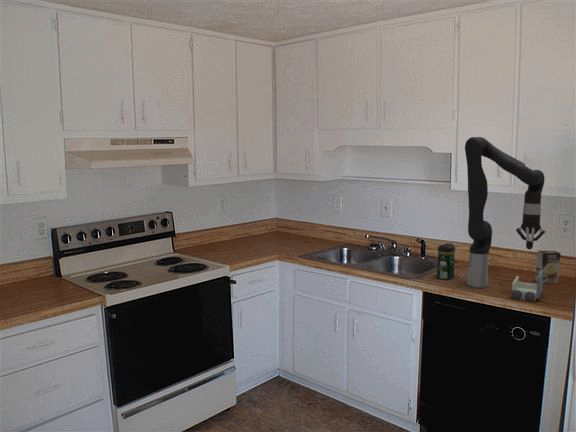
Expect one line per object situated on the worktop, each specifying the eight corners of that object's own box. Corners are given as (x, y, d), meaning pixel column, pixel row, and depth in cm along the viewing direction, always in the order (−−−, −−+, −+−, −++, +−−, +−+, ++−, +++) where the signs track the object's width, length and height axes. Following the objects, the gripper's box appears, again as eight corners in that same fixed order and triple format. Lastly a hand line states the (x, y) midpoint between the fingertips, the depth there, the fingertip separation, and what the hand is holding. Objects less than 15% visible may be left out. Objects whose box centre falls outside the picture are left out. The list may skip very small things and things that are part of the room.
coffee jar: (442, 274, 286) (443, 241, 284) (455, 277, 281) (457, 243, 279) (434, 278, 279) (435, 244, 276) (448, 280, 274) (449, 246, 271)
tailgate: (536, 299, 239) (537, 277, 238) (539, 290, 252) (540, 269, 251) (538, 299, 239) (540, 277, 237) (541, 291, 252) (543, 270, 250)
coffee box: (541, 283, 268) (543, 253, 266) (534, 280, 275) (537, 250, 272) (558, 283, 268) (560, 253, 266) (552, 279, 275) (554, 250, 272)
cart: (511, 298, 243) (511, 284, 242) (515, 289, 258) (516, 275, 257) (534, 302, 238) (535, 287, 237) (538, 292, 253) (539, 278, 252)
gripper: (515, 212, 242) (513, 249, 245) (546, 214, 236) (544, 252, 238) (517, 210, 249) (515, 246, 251) (548, 212, 242) (545, 249, 245)
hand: (529, 249), depth 245 cm, fingers closed
